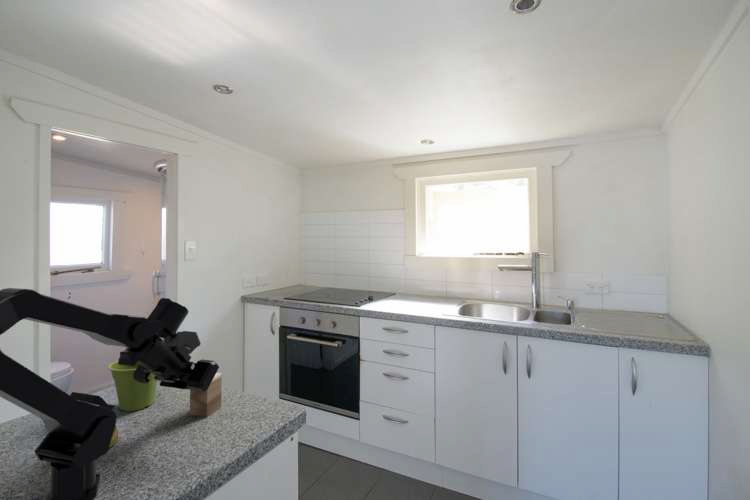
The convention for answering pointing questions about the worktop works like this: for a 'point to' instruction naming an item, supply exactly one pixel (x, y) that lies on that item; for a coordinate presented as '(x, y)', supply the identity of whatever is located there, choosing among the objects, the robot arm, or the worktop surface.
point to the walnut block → (207, 398)
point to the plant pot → (132, 388)
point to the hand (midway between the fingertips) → (195, 387)
